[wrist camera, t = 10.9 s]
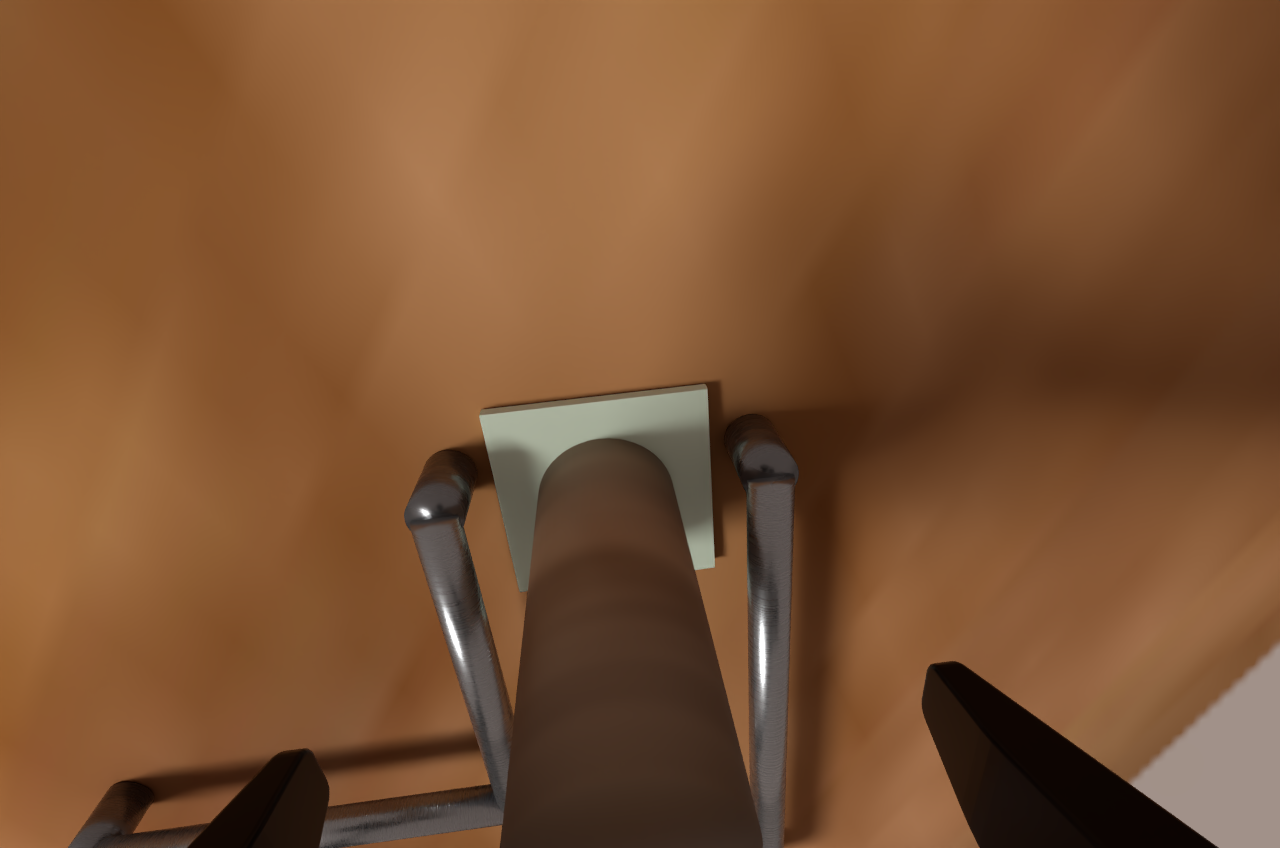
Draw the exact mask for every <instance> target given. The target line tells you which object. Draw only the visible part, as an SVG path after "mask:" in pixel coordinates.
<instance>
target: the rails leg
mask: <svg viewBox="0 0 1280 848" xmlns="http://www.w3.org/2000/svg"><path fill="white" fill-rule="evenodd" d="M724 441H725V446H726V448H727V451H728V453H729V455H730V458H731V460H732V462H733V464H734V467H735V469H736V471H737V474H738V476H739V478H740V480H741V483H742V485H743V487H744V490H745V491H746V493H747V580H748V669H749V757H750V789H751V793H752V797H753V801H754V805H755V809H756V813H757V817H758V820H759V824H760V828H761V832H762V839H763V848H784V823H785V791H786V758H787V726H788V693H789V661H790V628H791V596H792V563H793V531H794V498H795V485H796V483H797V480H798V476H799V470H798V466H797V464H796V462H795V461H794V459H793V457H792V456H791V454H790V453H789V451H788V449H787V448H786V446H785V445H784V443H783V441H782V440H781V438H780V437H779V435H778V433H777V432H776V430H775V428H774V427H773V425H772V424H771V422H770V421H769V420H768V419H766V418H765V417H763V416H760V415H755V414H750V415H745V416H742V417H740V418H738V419H736V420H735V421H734V422H732V423H731V425H730V426H729V427H728V429H727V431H726V433H725V438H724ZM477 476H478V472H477V468H476V466H475V464H474V462H473V461H472V460H471V459H470V458H469V457H468V456H466V455H465V454H463V453H461V452H458V451H453V450H445V451H440V452H437V453H435V454H434V455H432V456H431V457H430V458H429V459H428V460H427V462H426V464H425V466H424V469H423V471H422V473H421V475H420V478H419V480H418V482H417V484H416V487H415V489H414V491H413V493H412V496H411V498H410V500H409V502H408V505H407V507H406V509H405V513H404V518H405V522H406V525H407V527H408V528H409V529H410V531H411V532H412V535H413V538H414V542H415V545H416V548H417V551H418V554H419V558H420V561H421V564H422V567H423V570H424V573H425V577H426V580H427V583H428V586H429V589H430V592H431V596H432V599H433V602H434V605H435V608H436V611H437V615H438V618H439V621H440V624H441V627H442V631H443V634H444V637H445V640H446V643H447V646H448V650H449V653H450V656H451V659H452V662H453V665H454V669H455V672H456V675H457V678H458V681H459V685H460V688H461V691H462V694H463V697H464V700H465V704H466V707H467V710H468V713H469V716H470V719H471V723H472V726H473V729H474V732H475V735H476V739H477V742H478V745H479V748H480V751H481V754H482V758H483V761H484V764H485V767H486V770H487V773H488V777H489V780H490V783H491V786H492V789H493V793H494V796H495V799H496V802H497V804H498V806H499V807H500V809H501V810H502V811H503V812H504V806H505V796H506V787H507V778H508V769H509V759H510V750H511V741H512V732H513V722H514V715H513V711H512V707H511V703H510V700H509V696H508V692H507V688H506V685H505V681H504V677H503V673H502V670H501V666H500V662H499V658H498V655H497V651H496V647H495V643H494V640H493V636H492V632H491V628H490V625H489V621H488V617H487V613H486V610H485V606H484V602H483V598H482V595H481V591H480V587H479V583H478V580H477V576H476V572H475V568H474V565H473V561H472V557H471V553H470V550H469V546H468V542H467V538H466V535H465V531H464V527H463V526H464V523H465V519H466V516H467V512H468V509H469V505H470V502H471V498H472V495H473V491H474V488H475V484H476V481H477Z"/></svg>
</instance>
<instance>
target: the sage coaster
mask: <svg viewBox="0 0 1280 848" xmlns="http://www.w3.org/2000/svg"><path fill="white" fill-rule="evenodd" d="M479 417H480V421H481V426H482V430H483V434H484V439H485V443H486V447H487V452H488V456H489V460H490V465H491V469H492V473H493V478H494V482H495V487H496V491H497V495H498V500H499V504H500V508H501V513H502V517H503V521H504V526H505V530H506V535H507V539H508V543H509V548H510V552H511V556H512V561H513V565H514V569H515V574H516V578H517V582H518V587H519V591H520V592H525V591H528V584H529V575H530V565H531V556H532V547H533V538H534V528H535V519H536V510H537V501H538V491H539V486H540V483H541V480H542V477H543V475H544V473H545V471H546V470H547V468H548V467H549V466H550V464H551V463H552V462H553V461H554V460H555V459H556V458H557V457H558V456H559V455H560V454H562V453H563V452H564V451H566V450H568V449H569V448H571V447H573V446H575V445H577V444H580V443H583V442H586V441H589V440H595V439H604V438H612V439H621V440H627V441H630V442H633V443H636V444H638V445H641V446H643V447H645V448H646V449H648V450H650V451H651V452H652V453H653V454H655V455H656V456H657V457H658V458H659V459H660V460H661V461H662V462H663V464H664V465H665V467H666V468H667V470H668V472H669V474H670V476H671V479H672V482H673V486H674V490H675V494H676V498H677V502H678V506H679V510H680V514H681V518H682V522H683V526H684V530H685V534H686V537H687V541H688V545H689V549H690V553H691V557H692V561H693V565H694V569H695V570H698V569H706V568H714V567H715V557H714V533H713V509H712V485H711V461H710V437H709V413H708V389H707V387H706V385H705V384H699V385H690V386H682V387H673V388H664V389H656V390H647V391H638V392H630V393H621V394H612V395H604V396H595V397H586V398H578V399H569V400H560V401H552V402H543V403H535V404H526V405H517V406H509V407H500V408H491V409H483V410H481V412H480V415H479Z"/></svg>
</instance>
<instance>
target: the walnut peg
mask: <svg viewBox="0 0 1280 848" xmlns="http://www.w3.org/2000/svg"><path fill="white" fill-rule="evenodd" d="M500 848H763V839H762V832H761V828H760V824H759V820H758V817H757V813H756V809H755V805H754V801H753V797H752V793H751V789H750V785H749V781H748V777H747V773H746V769H745V765H744V762H743V758H742V754H741V750H740V746H739V742H738V738H737V734H736V730H735V726H734V722H733V718H732V714H731V710H730V706H729V703H728V699H727V695H726V691H725V687H724V683H723V679H722V675H721V671H720V667H719V663H718V659H717V655H716V651H715V648H714V644H713V640H712V636H711V632H710V628H709V624H708V620H707V616H706V612H705V608H704V604H703V600H702V596H701V592H700V589H699V585H698V581H697V577H696V573H695V569H694V565H693V561H692V557H691V553H690V549H689V545H688V541H687V537H686V534H685V530H684V526H683V522H682V518H681V514H680V510H679V506H678V502H677V498H676V494H675V490H674V486H673V482H672V479H671V476H670V474H669V472H668V470H667V468H666V467H665V465H664V464H663V462H662V461H661V460H660V459H659V458H658V457H657V456H656V455H655V454H653V453H652V452H651V451H650V450H648V449H646V448H645V447H643V446H641V445H638V444H636V443H633V442H630V441H627V440H621V439H612V438H604V439H595V440H589V441H586V442H583V443H580V444H577V445H575V446H573V447H571V448H569V449H568V450H566V451H564V452H563V453H562V454H560V455H559V456H558V457H557V458H556V459H555V460H554V461H553V462H552V463H551V464H550V466H549V467H548V468H547V470H546V471H545V473H544V475H543V477H542V480H541V483H540V486H539V491H538V501H537V510H536V519H535V528H534V538H533V547H532V556H531V565H530V575H529V584H528V593H527V602H526V611H525V621H524V630H523V639H522V648H521V658H520V667H519V676H518V685H517V695H516V704H515V713H514V722H513V732H512V741H511V750H510V759H509V769H508V778H507V787H506V796H505V806H504V815H503V824H502V833H501V843H500Z"/></svg>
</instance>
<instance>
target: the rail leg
mask: <svg viewBox="0 0 1280 848" xmlns="http://www.w3.org/2000/svg"><path fill="white" fill-rule="evenodd" d="M153 799H154V796H153V793H152V792H151V791H150V790H149V789H148V788H146V787H144V786H142V785H140V784H136V783H131V782H122V783H117V784H114V785H113V786H111V787H110V788H109V790H108V791H107V792H106V794H105V795H104V797H103V798H102V800H101V801H100V802H99V804H98V805H97V807H96V808H95V810H94V811H93V812H92V814H91V815H90V817H89V818H88V820H87V821H86V822H85V824H84V825H83V827H82V828H81V830H80V831H79V832H78V834H77V835H76V837H75V838H74V840H73V841H72V842H71V844H70V845H69V847H68V848H187V847H188V846H189V845H190V843H191V842H192V841H193V840H194V839H195V838H196V837H197V836H198V835H199V834H200V833H201V832H202V831H203V830H204V829H205V828H206V827H207V826H208V825H209V824H210V823H206V824H198V825H191V826H184V827H177V828H169V829H162V830H155V831H148V832H140V833H133V832H134V831H135V829H136V827H137V826H138V824H139V822H140V821H141V819H142V818H143V816H144V814H145V813H146V811H147V810H148V808H149V806H150V805H151V803H152V802H153ZM503 815H504V812H503V811H502V810H501V809H500V807H499V806H498V804H497V802H496V799H495V796H494V793H493V789H492V786H491V784H488V785H480V786H473V787H466V788H459V789H451V790H444V791H437V792H430V793H422V794H415V795H408V796H401V797H394V798H386V799H379V800H372V801H365V802H357V803H350V804H343V805H336V806H328V807H327V812H326V817H325V822H324V827H323V832H322V836H321V841H320V846H319V848H342V847H349V846H356V845H363V844H370V843H378V842H385V841H392V840H399V839H406V838H413V837H420V836H427V835H434V834H441V833H449V832H456V831H463V830H470V829H477V828H484V827H491V826H498V825H502V824H503Z"/></svg>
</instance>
